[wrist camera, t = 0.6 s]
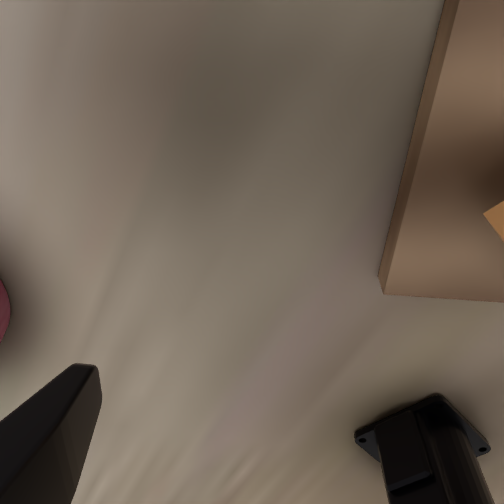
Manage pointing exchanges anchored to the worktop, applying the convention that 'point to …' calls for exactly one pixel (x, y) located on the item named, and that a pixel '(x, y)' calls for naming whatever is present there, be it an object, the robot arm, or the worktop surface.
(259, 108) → the worktop surface
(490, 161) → the post board
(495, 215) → the orange tan square block
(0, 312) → the plant pot
